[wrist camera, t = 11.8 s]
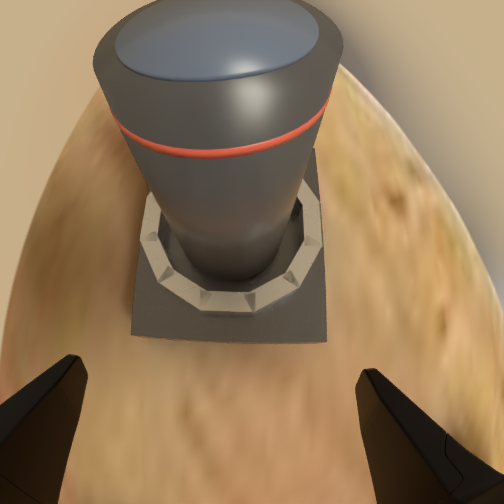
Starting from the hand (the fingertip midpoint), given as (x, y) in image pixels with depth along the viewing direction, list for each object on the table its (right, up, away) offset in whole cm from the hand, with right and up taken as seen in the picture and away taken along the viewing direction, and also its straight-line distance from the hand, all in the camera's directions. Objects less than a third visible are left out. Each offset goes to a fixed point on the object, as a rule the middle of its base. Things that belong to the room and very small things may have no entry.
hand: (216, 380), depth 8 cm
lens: (0, +5, +10) cm, 11 cm away
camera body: (0, +4, +12) cm, 13 cm away
